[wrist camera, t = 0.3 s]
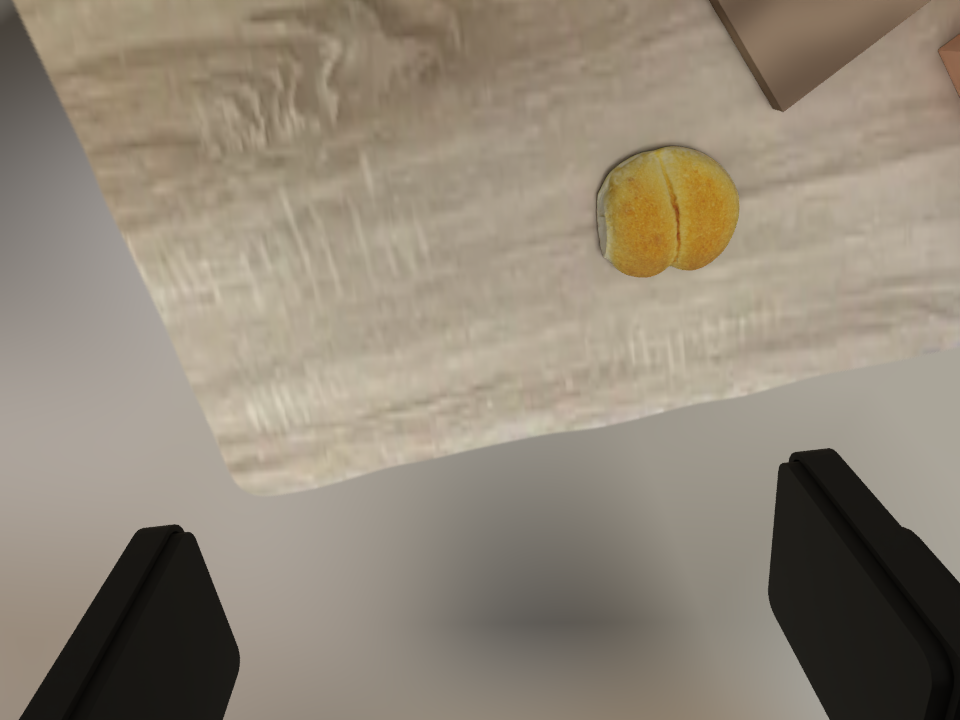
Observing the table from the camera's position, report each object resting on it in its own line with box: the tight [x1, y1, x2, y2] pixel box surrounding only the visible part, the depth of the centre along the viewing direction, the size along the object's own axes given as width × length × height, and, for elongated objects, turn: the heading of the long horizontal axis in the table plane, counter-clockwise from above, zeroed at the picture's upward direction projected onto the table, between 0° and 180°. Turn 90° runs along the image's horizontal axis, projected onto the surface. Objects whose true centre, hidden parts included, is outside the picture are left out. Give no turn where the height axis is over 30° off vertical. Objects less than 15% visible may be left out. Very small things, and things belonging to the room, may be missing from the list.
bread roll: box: [597, 146, 739, 277], centre depth 44 cm, size 8×9×4 cm
